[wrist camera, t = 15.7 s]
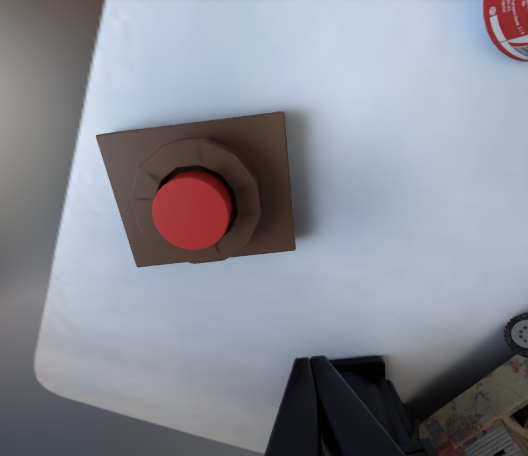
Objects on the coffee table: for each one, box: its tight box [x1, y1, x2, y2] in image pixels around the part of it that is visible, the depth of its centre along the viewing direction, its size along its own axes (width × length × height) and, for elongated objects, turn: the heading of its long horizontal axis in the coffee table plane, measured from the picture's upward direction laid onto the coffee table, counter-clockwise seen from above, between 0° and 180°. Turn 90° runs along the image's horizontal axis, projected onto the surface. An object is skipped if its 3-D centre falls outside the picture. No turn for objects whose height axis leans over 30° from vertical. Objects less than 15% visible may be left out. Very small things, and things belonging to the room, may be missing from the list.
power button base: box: [96, 112, 296, 267], centre depth 17 cm, size 10×8×4 cm
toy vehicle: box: [406, 314, 528, 456], centre depth 21 cm, size 7×18×8 cm, turn 142°
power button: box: [152, 171, 232, 250], centre depth 15 cm, size 4×4×2 cm
